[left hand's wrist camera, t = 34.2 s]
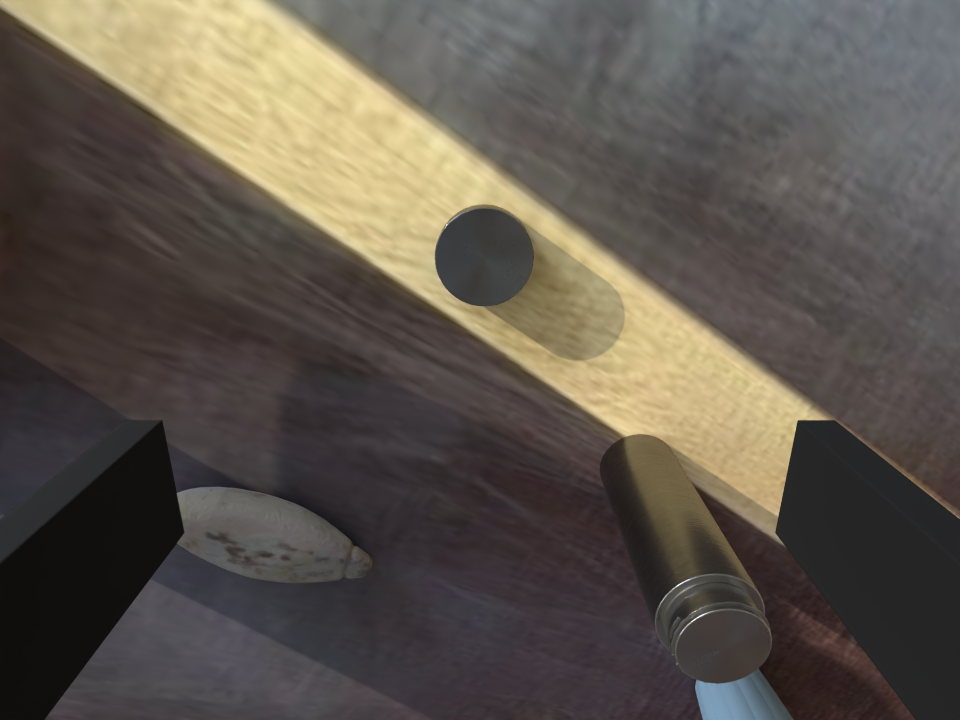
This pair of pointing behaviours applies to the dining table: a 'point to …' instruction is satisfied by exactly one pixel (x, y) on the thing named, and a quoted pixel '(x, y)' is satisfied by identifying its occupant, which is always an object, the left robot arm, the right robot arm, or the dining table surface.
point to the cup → (740, 700)
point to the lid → (484, 255)
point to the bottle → (684, 564)
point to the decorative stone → (266, 537)
